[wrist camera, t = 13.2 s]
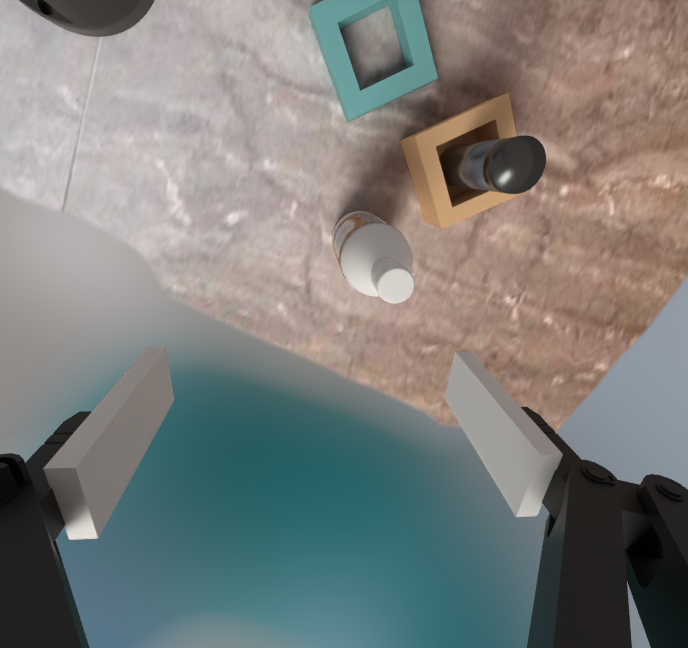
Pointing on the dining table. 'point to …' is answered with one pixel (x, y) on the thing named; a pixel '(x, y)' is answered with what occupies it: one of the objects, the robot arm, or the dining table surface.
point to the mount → (327, 19)
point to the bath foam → (374, 256)
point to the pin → (495, 164)
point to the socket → (428, 144)
